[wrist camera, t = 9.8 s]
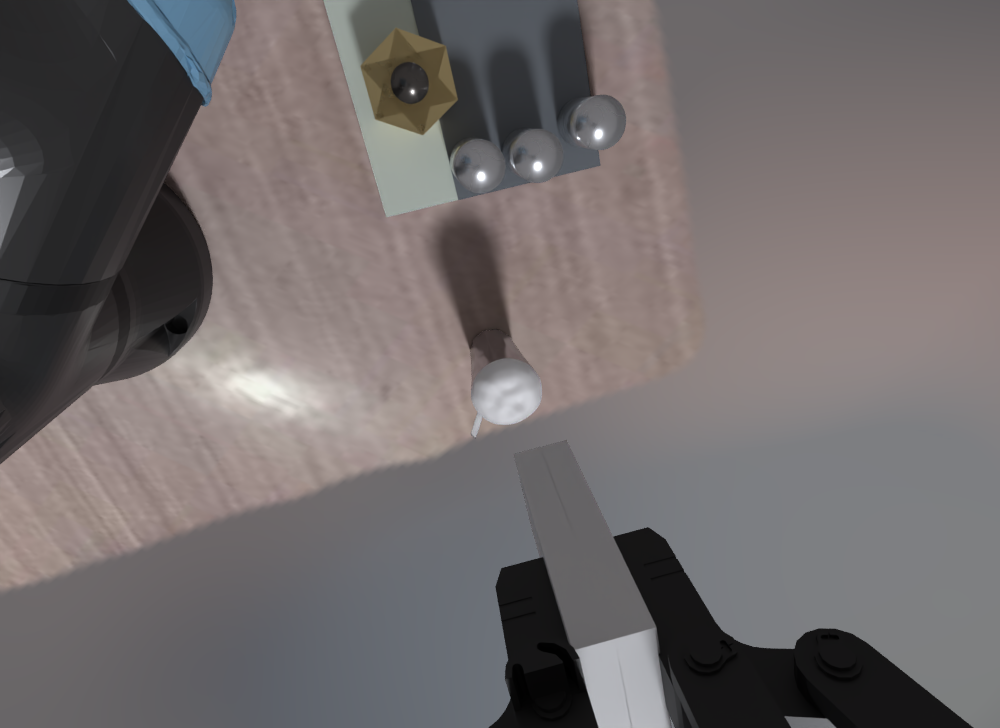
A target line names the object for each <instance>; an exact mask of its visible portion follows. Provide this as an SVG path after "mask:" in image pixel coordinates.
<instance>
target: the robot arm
mask: <svg viewBox="0 0 1000 728" xmlns="http://www.w3.org/2000/svg"><path fill="white" fill-rule="evenodd" d="M235 22H236V7H235V2H234V0H0V464H1V463H2V462H3V461H5V460H6V459H7V458H8V457H9V456H11V455H12V454H13V453H14V452H15V451H16V450H18V449H19V448H20V447H21V446H22V445H24V444H25V443H26V442H27V441H28V440H30V439H31V438H32V437H33V436H34V435H35V434H37V433H38V432H39V431H40V430H41V429H43V428H44V427H45V426H46V425H47V424H48V423H50V422H51V421H52V420H53V419H54V418H56V417H57V416H58V415H59V414H60V413H62V412H63V411H64V410H65V409H66V408H67V407H69V406H70V405H71V404H72V403H73V402H75V401H76V400H77V399H78V398H79V397H80V396H82V395H83V394H84V393H85V392H86V391H88V390H89V389H90V388H91V387H92V386H94V385H99V384H104V383H109V382H114V381H119V380H124V379H128V378H132V377H135V376H138V375H141V374H143V373H145V372H148V371H150V370H152V369H154V368H156V367H158V366H159V365H161V364H163V363H164V362H166V361H167V360H168V359H170V358H171V357H172V356H173V355H175V354H176V353H177V352H178V351H179V350H180V349H181V348H182V347H183V346H184V345H185V344H186V343H187V342H188V341H189V340H190V339H191V338H192V337H193V335H194V334H195V333H196V331H197V330H198V329H199V327H200V325H201V324H202V322H203V320H204V318H205V316H206V313H207V311H208V308H209V304H210V300H211V295H212V286H213V275H212V265H211V259H210V255H209V251H208V248H207V244H206V242H205V239H204V237H203V234H202V232H201V230H200V228H199V226H198V224H197V223H196V221H195V219H194V218H193V216H192V214H191V213H190V211H189V210H188V209H187V207H186V206H185V205H184V203H183V202H182V201H181V200H180V199H179V197H178V196H177V195H176V194H175V193H174V192H173V191H172V190H171V189H170V188H169V187H168V186H167V185H166V184H164V183H163V182H164V180H165V178H166V176H167V174H168V172H169V170H170V168H171V166H172V164H173V162H174V160H175V158H176V156H177V154H178V151H179V149H180V147H181V145H182V143H183V141H184V139H185V137H186V135H187V133H188V131H189V129H190V127H191V125H192V122H193V120H194V118H195V116H196V114H197V112H198V110H199V108H200V106H201V105H202V106H205V107H206V106H207V105H208V104H209V103H210V101H211V97H212V89H211V83H212V81H213V79H214V76H215V74H216V72H217V69H218V67H219V65H220V62H221V60H222V57H223V55H224V53H225V50H226V48H227V46H228V43H229V41H230V39H231V36H232V34H233V31H234V28H235ZM514 457H515V462H516V466H517V470H518V474H519V478H520V483H521V487H522V491H523V495H524V499H525V503H526V507H527V511H528V515H529V520H530V524H531V528H532V532H533V535H534V539H535V542H536V545H537V549H538V552H539V556H540V558H538V559H534V560H531V561H527V562H523V563H520V564H516V565H512V566H508V567H504V568H502V569H501V571H500V574H499V577H498V581H497V584H496V592H497V598H498V603H499V608H500V615H501V621H502V626H503V632H504V638H505V643H506V649H507V654H508V662H507V664H506V670H505V681H506V684H507V687H508V691H509V694H510V697H511V699H510V702H509V704H508V706H507V708H506V710H505V712H504V713H503V714H502V716H501V717H500V718H499V719H498V720H497V721H496V722H495V723H494V724H493V725H491V726H490V727H489V728H672V727H671V720H672V722H673V724H674V727H675V728H973V727H972V726H970V725H969V724H968V723H967V722H965V721H964V720H963V719H962V718H961V717H959V716H958V715H957V714H955V713H954V712H953V711H952V710H951V709H949V708H948V707H947V706H945V705H944V704H943V703H942V702H940V701H939V700H938V699H937V698H935V697H934V696H933V695H932V694H930V693H929V692H928V691H927V690H925V689H924V688H923V687H922V686H920V685H919V684H918V683H917V682H915V681H914V680H913V679H912V678H910V677H909V676H908V675H907V674H905V673H904V672H903V671H902V670H900V669H899V668H898V667H897V666H895V665H894V664H893V663H892V662H890V661H889V660H888V659H887V658H885V657H884V656H882V654H880V653H879V652H878V651H877V650H875V649H874V648H873V647H871V646H870V645H869V644H868V643H866V642H865V641H863V640H861V639H860V638H858V637H856V636H855V635H853V634H851V633H848V632H844V631H841V630H837V629H816V630H813V631H810V632H807V633H805V634H804V635H803V636H802V637H801V638H800V639H798V640H797V642H796V646H795V649H770V648H759V647H752V646H749V645H746V644H743V643H740V642H738V641H736V640H734V639H733V637H731V636H729V635H728V634H726V633H724V632H723V631H722V630H721V629H720V627H719V626H718V625H717V624H716V622H715V621H714V619H713V617H712V616H711V614H710V612H709V611H708V609H707V607H706V606H705V604H704V602H703V601H702V599H701V598H700V596H699V594H698V592H697V591H696V589H695V587H694V586H693V584H692V583H691V581H690V579H689V578H688V576H687V575H686V573H685V572H684V569H683V568H682V566H681V564H680V563H679V561H678V559H676V557H675V554H674V553H673V551H672V549H671V548H670V546H669V544H668V543H667V541H666V539H664V538H663V537H661V536H660V535H659V534H657V533H656V532H654V531H653V530H651V529H650V528H648V527H647V528H644V529H640V530H636V531H632V532H629V533H625V534H621V535H618V536H614V537H613V536H612V534H611V532H610V529H609V527H608V525H607V523H606V521H605V519H604V517H603V515H602V513H601V511H600V509H599V507H598V505H597V503H596V500H595V498H594V496H593V494H592V492H591V490H590V488H589V486H588V484H587V482H586V480H585V477H584V475H583V473H582V471H581V469H580V467H579V465H578V463H577V461H576V459H575V457H574V455H573V452H572V450H571V448H570V446H569V444H568V442H567V440H565V441H562V442H557V443H553V444H550V445H546V446H542V447H538V448H534V449H531V450H527V451H523V452H519V453H515V454H514ZM670 717H671V720H670Z"/></svg>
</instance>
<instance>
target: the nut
mask: <svg viewBox="0 0 1000 728" xmlns="http://www.w3.org/2000/svg"><path fill="white" fill-rule="evenodd" d="M360 67H361V71H362V74H363V78H364V81H365V85H366V89H367V92H368V96H369V99H370V103H371V106H372V110H373V114H374V117H375V120H378V121H381V122H384V123H387V124H390V125H393V126H396V127H399V128H402V129H405V130H408V131H411V132H414V133H417V134H420V135H424V134H425V133H426V132H427V131H428V130H429V129H430V128H431V127H432V126H433V125H434V124H435V123H436V122H437V121H438V120H439V119H440V118H441V117H442V116H443V115H444V114H445V113H446V112H447V110H448V109H449V108H450V107H451V106H452V105H453V104H454V103H455V102H456V101H457V100H458V98H457V94H456V89H455V85H454V80H453V76H452V71H451V67H450V63H449V58H448V54H447V49H446V46H445V45H442V44H440V43H437V42H434V41H431V40H429V39H426V38H423V37H420V36H418V35H415V34H412V33H409V32H407V31H404V30H401V29H399V28H395V29H394V30H393V31H392V32H391V33H390V34H389V35H388V37H387V38H386V39H385V40H384V41H383V42H382V43H381V44H380V45H379V46H378V47H377V48H376V49H375V51H374V52H373V53H372V54H371V55H370V56H369V57H368V58H367V59H366V60H365V61H364V62H363V63H362V65H361V66H360Z"/></svg>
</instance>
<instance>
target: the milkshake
mask: <svg viewBox="0 0 1000 728" xmlns="http://www.w3.org/2000/svg"><path fill="white" fill-rule="evenodd" d="M470 356H471V375H472V383H471V399H472V403H473V405H474V407H475V409H476V410H477V412H478V413H477V416H476V419H475V422H474V425H473V428H472V431H471V435H472V436H473V437H474V438H476V436H477V433H478V430H479V426H480V423H481V420H482V417H483V418H485V419H486V420H488V421H489V422H491V423H494V424H499V425H509V424H515V423H518V422H520V421H522V420H524V419H525V418H527V417H528V416H530V415H531V414H532V413H533V412H534V411H535V410H536V409H537V407H538V406H539V404H540V402H541V398H542V385H541V380H540V378H539V376H538V374H537V373H536V371H535V370H534V369H533V367H532V366H531V365H530V364H529V363H528V361H527V360H526V359H525V358H524V356H523V355H522V353H521V352H520V351H519V349H518V348H517V346H516V345H515V343H514V342H513V341H512V339H511V338H510V336H509V335H507V334H505V333H503V332H502V331H500V330H498V329H492V330H484V331H482V332H481V333H480V334H479V335H478V336H476V337H475V338H474V339H473V343H472V347H471V351H470Z"/></svg>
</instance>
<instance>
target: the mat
mask: <svg viewBox="0 0 1000 728" xmlns="http://www.w3.org/2000/svg"><path fill="white" fill-rule="evenodd" d="M323 1H324V4H325V7H326V11H327V14H328V18H329V21H330V25H331V28H332V32H333V35H334V38H335V42H336V45H337V49H338V52H339V56H340V59H341V63H342V66H343V70H344V73H345V76H346V80H347V83H348V87H349V90H350V94H351V97H352V101H353V104H354V107H355V111H356V114H357V118H358V121H359V125H360V128H361V132H362V135H363V139H364V142H365V145H366V149H367V152H368V156H369V159H370V163H371V166H372V170H373V173H374V177H375V180H376V183H377V187H378V190H379V194H380V197H381V201H382V204H383V208H384V211H385V214H386V217H390V216H394V215H398V214H402V213H406V212H410V211H415V210H419V209H423V208H427V207H431V206H435V205H439V204H443V203H447V202H452V201H456V200H461V199H465V198H469V197H473V196H477V195H481V194H485V193H474V192H471V191H469V190H467V189H466V188H464V187H463V186H462V185H461V183H460V182H459V181H458V180H457V178H456V177H455V176H454V174H453V172H452V170H451V167H450V155H451V152H452V150H453V148H454V146H455V145H456V144H457V143H458V142H459V141H461V140H463V139H465V138H469V137H475V138H479V139H483V140H487V141H490V142H492V143H493V144H495V145H496V146H497V147H498V148H499V149H500V150H501V152H502V146H503V143H504V141H505V139H506V138H507V136H508V135H509V134H510V133H511V132H513V131H515V130H517V129H520V128H531V129H544V130H547V131H549V132H551V133H553V134H554V135H555V136H556V137H557V138H558V139H559V141H560V143H561V145H562V148H563V162H562V165H561V168H560V169H559V171H558V173H557V174H556V175H555V176H559V175H563V174H567V173H572V172H576V171H580V170H584V169H588V168H592V167H596V166H600V159H599V152H598V150H594V149H588V148H582V147H576V146H572V145H569V144H568V143H566V142H565V141H564V140H563V139H562V138H561V136H560V134H559V132H558V127H557V120H558V115H559V113H560V111H561V109H562V107H563V106H564V105H565V104H566V103H567V102H569V101H570V100H572V99H575V98H582V97H589V96H591V95H590V88H589V81H588V74H587V67H586V60H585V53H584V46H583V39H582V32H581V25H580V18H579V10H578V3H577V0H323ZM395 28H399V29H401V30H404V31H407V32H409V33H412V34H415V35H418V36H420V37H423V38H426V39H429V40H431V41H434V42H437V43H440V44H442V45H445V46H446V49H447V54H448V58H449V63H450V67H451V71H452V76H453V80H454V85H455V89H456V94H457V98H458V100H457V101H456V102H455V103H454V104H453V105H452V106H451V107H450V108H449V109H448V110H447V112H446V113H445V114H444V115H443V116H442V117H441V118H440V119H439V120H438V121H437V122H436V123H435V124H434V125H433V126H432V127H431V128H430V129H429V130H428V131H427V132H426V133H425V134H424V135H420V134H417V133H414V132H411V131H408V130H405V129H402V128H399V127H396V126H393V125H390V124H387V123H384V122H381V121H378V120H375V117H374V114H373V110H372V106H371V103H370V99H369V96H368V92H367V89H366V85H365V81H364V78H363V74H362V71H361V67H360V66H361V65H362V63H363V62H364V61H365V60H366V59H367V58H368V57H369V56H370V55H371V54H372V53H373V52H374V51H375V49H376V48H377V47H378V46H379V45H380V44H381V43H382V42H383V41H384V40H385V39H386V38H387V37H388V35H389V34H390V33H391V32H392V31H393V30H394V29H395ZM555 176H554V177H555ZM526 183H530V181H527V180H525V179H524V178H522V177H520V176H518V175H516V174H514V173H512V172H511V171H510V170H509V169H508V168H507V167H506V166H505V174H504V177H503V179H502V181H501V182H500V184H499V185H498V186H497V187H496V188H495V189H493V190H491V191H489V192H493V191H498V190H502V189H506V188H510V187H514V186H518V185H522V184H526ZM489 192H486V193H489Z"/></svg>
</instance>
